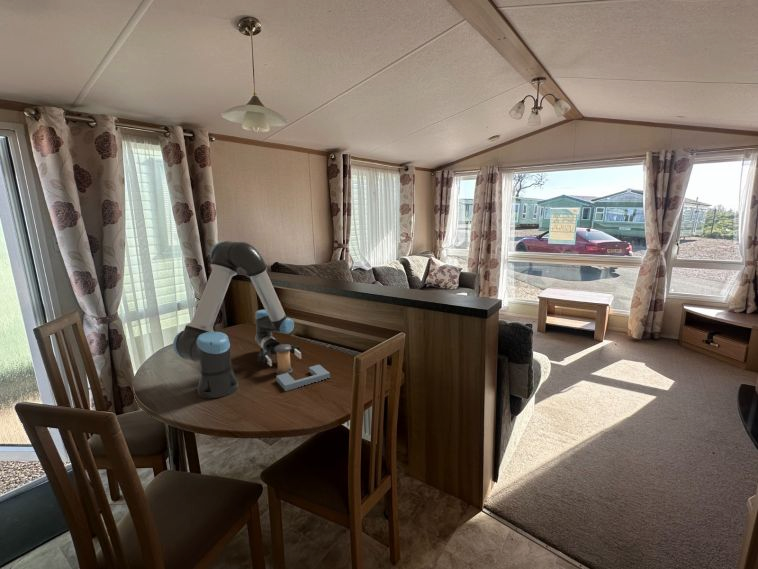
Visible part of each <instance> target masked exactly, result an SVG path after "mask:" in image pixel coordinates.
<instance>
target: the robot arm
mask: <svg viewBox="0 0 758 569" xmlns="http://www.w3.org/2000/svg"><path fill="white" fill-rule="evenodd" d="M209 258H210V261H211V262H210V265H209V266H210V268H211V272H210V275H209V278H208V280H207V282H206V285H205V286H204V287H205V288H204V289H203V292H202V295H201V297H200V300H199V302H198V305H197V306H196V310H195V312H194V314H193V317H192V320H191V321H190V322H189V323H186V325H185V327H184V329H183V330H181V331H180V332H178V333H177V334H176V335H175V337H174V339H173V343H172V348H173V350H174V352H175V354H176V355H177V356H178V357H180V358H182V359H184V360H187V361H191V362H195V363H198V364H199V371H200V377H199V381H198V385H197V396H199V397H200V398H203V399H218V398H222V397H225V396H228V395H230V394H232V393H234V392H235V391H236V390H238V388H239V381H238V378H237V377H236V374H235V372H234V370H233V366H232V356H231V343H230V340H229V339H230V338H229V337H228V335H227V334H226V333H224V332H221V331H215V330H214V325H215V322H216V321H217V320H216V319H217V317H218V314H219V312H220V309H221V306H222V305H223V302H224V299H225V296H226V293H227V291H228V288H229V285H230V283H231V281H232V278H233V277H234V276H237V274H238V273H239V269H241V270H242V271H243V272H244V274H245V276H246V277H248V278H250V279H249V280H250V281H251V283H252V285H253V287H254V289H255V291H256V293H257V296H258V297H259V299H260V302H261V303H262V306H263V308H264V309H259V310H257V311H255V327H256V328H255V330H256V334H255V337H254V339H255V343H256V344H257V345H258V346H259V347H260V349H259V353H258V355H257V362H259V363H260V362H262V363H263V364H265V363H267V365H268V366H270V367H272V366H273V363H272V361H273V360H272V359H271V358H270V357H272V356H274V355H277V352H275V347H276V346H278V345H281V343H280V341H279V340H277V339H276V338H275V337H274V336H273V332H274V333H275V332H276V333H280V334H284V335H285V334H287V335H288V334H290V333H292V332H293V330H294V329H295V328H294V327H295V322H294V320H293V319H291V318H290V317H287V315H286V313H285V311H284V308H283V306H282V303H281V301H280V300H279V297H278V295H277V292H276V291H275V288H274V286H273V283H272V281H271V278H270V276H269V275H268V272H267V269H268V266H267V265H266V262H265V260H264V258H263V257H262V255H261V254H260V252H259V251H258V249H257V248H255V246H253V245H251V244H250V243H249V242H245V241H231V240H230V241H229V240H224V241H219V242H217V243H215V244H213V246H212V247H211V249H210V251H209ZM285 344H289V343H288V342H287V343H285ZM289 345H291V350H290V354H294V356H296V357H297V358H298V359H300V360H302V346H299V345H293V344H291V343H290V344H289Z"/></svg>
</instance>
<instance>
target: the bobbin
mask: <svg viewBox="0 0 758 569" xmlns="http://www.w3.org/2000/svg"><path fill="white" fill-rule="evenodd" d="M280 344H281V343H280ZM291 345H292V344H290V345H289V343H288V344H286V343H283V344H281V345H278V346H276V347H275V352H277V354H276V358H277V359H276V360H277V368H276V370H275V372H276V376H277V375H281V374H285V373H288V374H289V375H291V374H292V373H293V371H294V370H293V367H292V366H291V353H290V350H291ZM290 373H291V374H290Z"/></svg>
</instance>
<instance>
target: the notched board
mask: <svg viewBox="0 0 758 569" xmlns="http://www.w3.org/2000/svg"><path fill="white" fill-rule="evenodd" d="M309 372H310V373H309ZM308 373H309V374H311V376H306V377H303V378H302V377H301V378H300V379H296V380H295V379H294V378H293V377H292V375H291V374H288V373H285V374H281V375H277V374H276V375H275V376H276V377H275V378H276V382H277V383H278V385H279V386H280V387H281V388H282V389H283V390H284V392H289V391H291V390H295V389H298V387H299V388H301V386H302V387H304V385H306V386H309V385H312V384H311V383H313V384H315V383H314V382H316V383H319V382H322V381H321V380H323V381H325V380H324V379H326V380H328V379H327V378H330V379H331V372H330V371H328V370H327V369H325V368H324V367H323V366H322V365H321V364H315V365H312V366H309V367H308ZM312 374H313V375H312ZM318 381H319V382H318ZM308 384H309V385H308Z"/></svg>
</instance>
